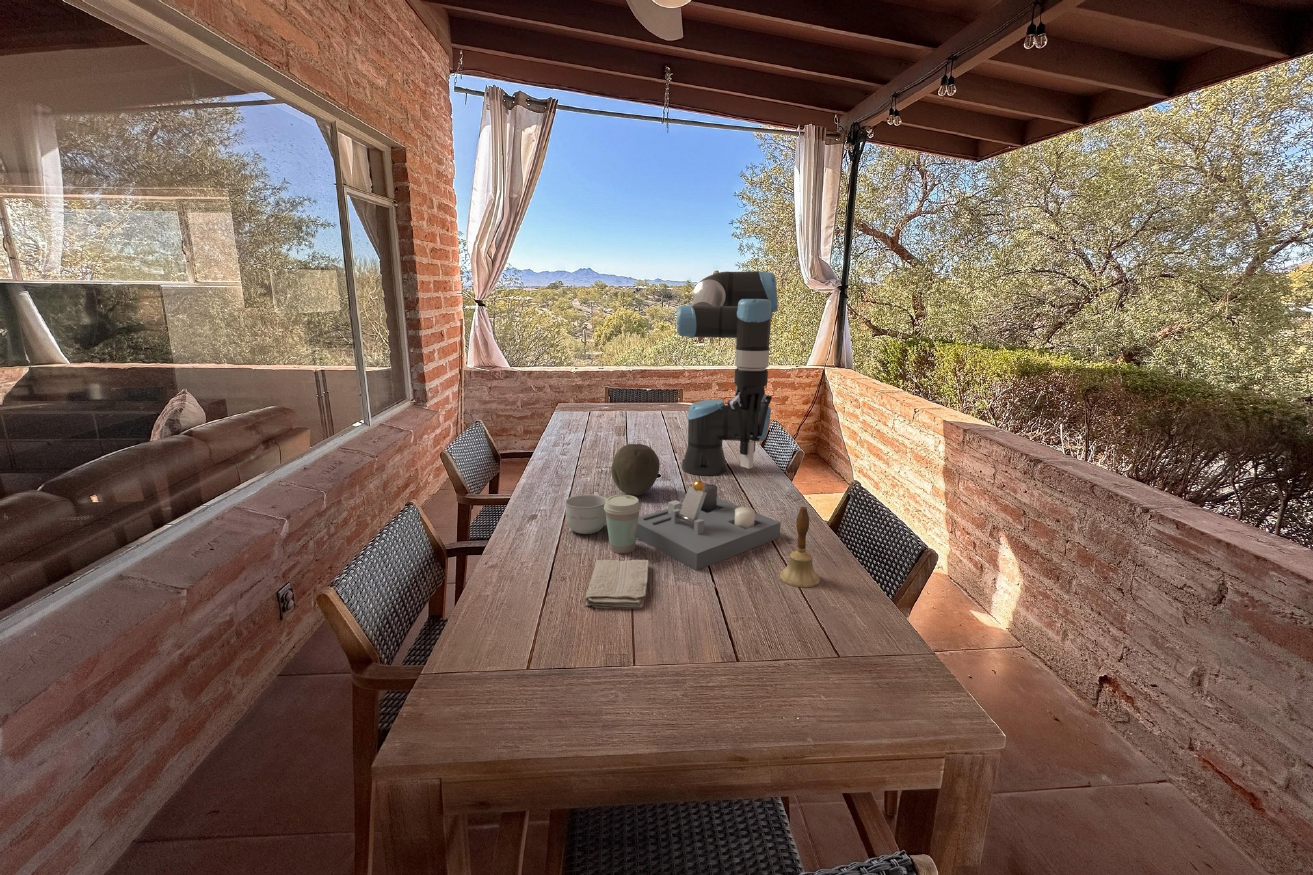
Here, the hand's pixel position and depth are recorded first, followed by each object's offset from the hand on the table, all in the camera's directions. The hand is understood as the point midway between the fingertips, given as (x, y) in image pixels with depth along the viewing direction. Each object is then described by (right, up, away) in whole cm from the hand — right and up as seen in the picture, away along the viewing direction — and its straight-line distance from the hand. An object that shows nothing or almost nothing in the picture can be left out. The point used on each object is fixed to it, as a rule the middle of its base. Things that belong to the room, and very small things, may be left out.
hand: (746, 466), depth 138 cm
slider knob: (-17, -12, +8) cm, 22 cm away
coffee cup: (-30, -19, -2) cm, 35 cm away
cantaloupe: (-28, -10, +34) cm, 45 cm away
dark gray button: (-8, -11, +13) cm, 19 cm away
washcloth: (-29, -24, -19) cm, 43 cm away
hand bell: (+9, -23, -15) cm, 29 cm away
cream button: (0, -16, +4) cm, 17 cm away
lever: (-14, -12, 0) cm, 19 cm away
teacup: (-38, -17, +8) cm, 42 cm away
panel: (-10, -17, +5) cm, 20 cm away
